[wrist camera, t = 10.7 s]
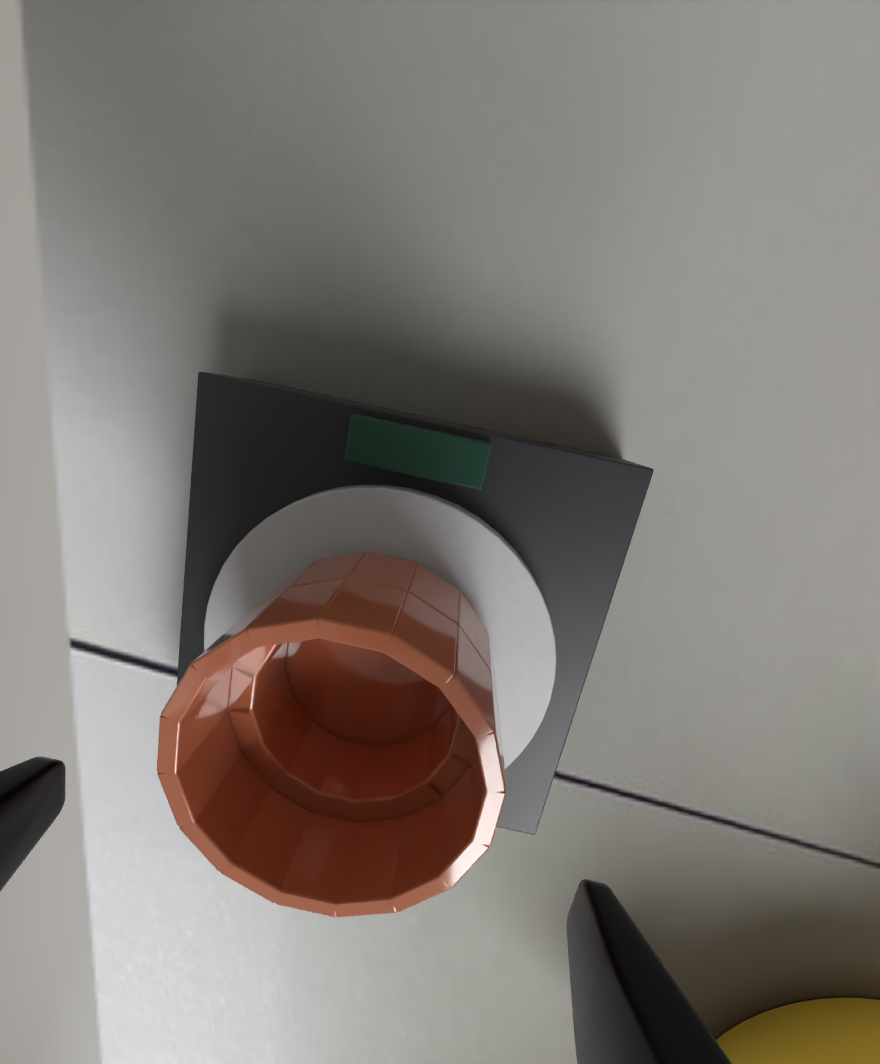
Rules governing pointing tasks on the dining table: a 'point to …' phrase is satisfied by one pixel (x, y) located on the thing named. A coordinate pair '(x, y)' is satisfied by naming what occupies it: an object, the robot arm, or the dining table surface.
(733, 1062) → the teapot
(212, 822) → the bowl
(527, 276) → the dining table surface
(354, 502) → the scale
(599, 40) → the dining table surface
